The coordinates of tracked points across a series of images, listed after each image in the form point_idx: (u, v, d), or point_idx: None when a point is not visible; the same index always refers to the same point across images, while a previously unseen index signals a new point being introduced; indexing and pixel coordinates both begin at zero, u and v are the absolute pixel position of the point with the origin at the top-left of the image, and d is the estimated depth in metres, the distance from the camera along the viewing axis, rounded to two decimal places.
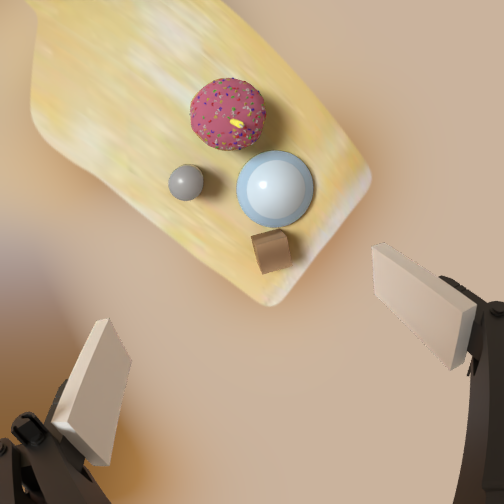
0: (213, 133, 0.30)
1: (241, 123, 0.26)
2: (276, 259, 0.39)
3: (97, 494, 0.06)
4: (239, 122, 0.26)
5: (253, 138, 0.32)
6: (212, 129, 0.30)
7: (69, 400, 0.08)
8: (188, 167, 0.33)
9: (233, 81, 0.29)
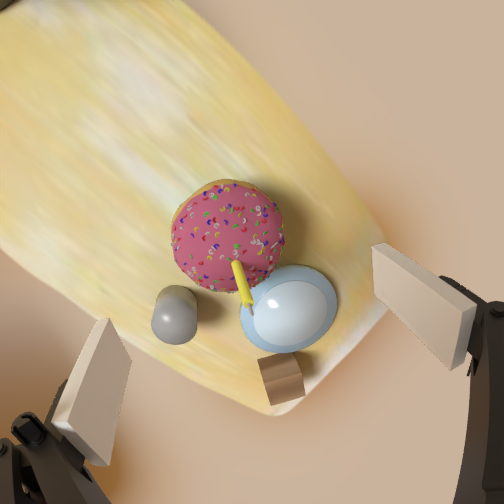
0: (207, 278, 0.22)
1: (251, 302, 0.17)
2: (287, 392, 0.30)
3: (97, 494, 0.06)
4: (247, 301, 0.17)
5: (265, 277, 0.23)
6: (205, 273, 0.21)
7: (69, 400, 0.08)
8: (175, 308, 0.25)
9: (235, 194, 0.20)
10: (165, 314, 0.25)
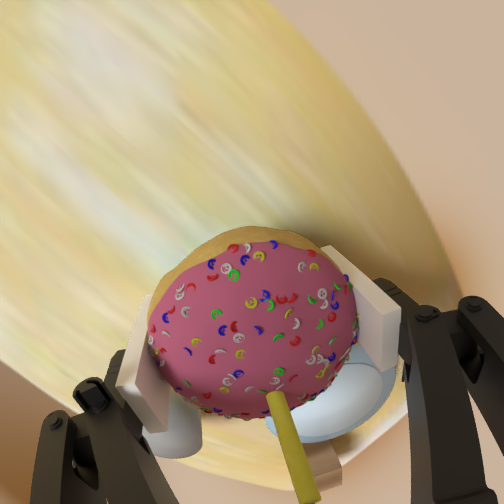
0: (220, 411, 0.11)
1: (316, 501, 0.06)
2: (320, 485, 0.19)
3: (153, 468, 0.07)
4: (310, 502, 0.06)
5: None
6: (215, 406, 0.10)
7: (132, 364, 0.10)
8: (168, 423, 0.14)
9: (278, 267, 0.10)
10: None
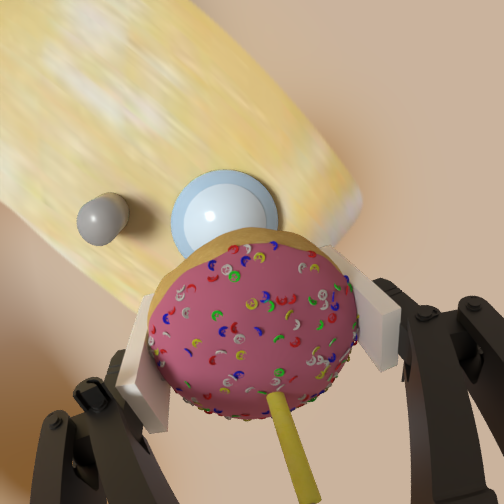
0: (220, 412, 0.11)
1: (316, 502, 0.06)
2: None
3: (154, 467, 0.07)
4: (310, 502, 0.06)
5: None
6: (216, 407, 0.10)
7: (132, 364, 0.10)
8: (98, 201, 0.23)
9: (278, 269, 0.10)
10: (89, 209, 0.23)
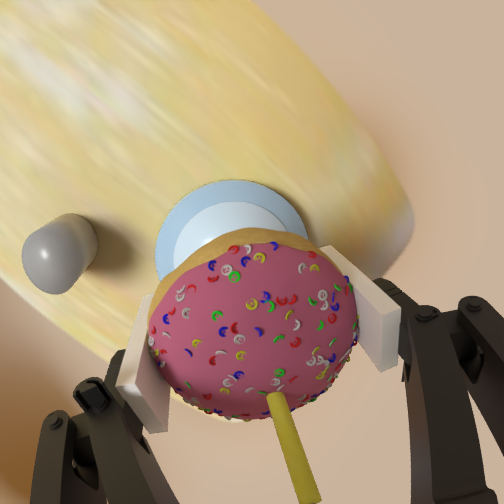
0: (220, 412, 0.11)
1: (316, 502, 0.06)
2: None
3: (154, 467, 0.07)
4: (310, 503, 0.06)
5: None
6: (216, 407, 0.10)
7: (132, 364, 0.10)
8: (47, 232, 0.14)
9: (278, 269, 0.10)
10: (36, 243, 0.14)
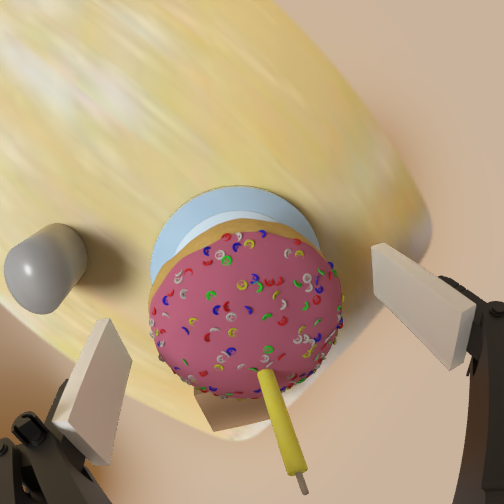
0: (215, 390, 0.12)
1: (302, 471, 0.07)
2: (237, 412, 0.18)
3: (98, 494, 0.06)
4: (297, 470, 0.07)
5: None
6: (211, 385, 0.12)
7: (70, 399, 0.08)
8: (29, 246, 0.12)
9: (266, 254, 0.11)
10: (18, 258, 0.12)
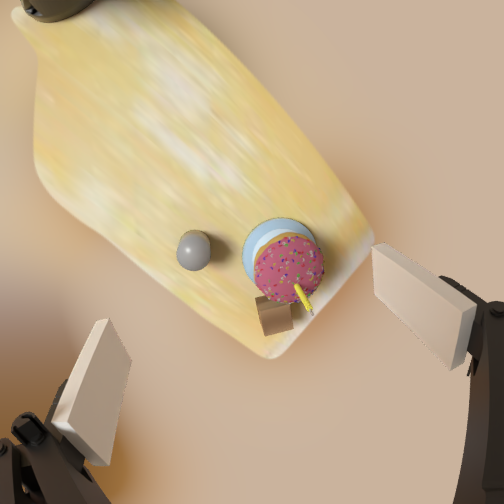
0: (277, 294, 0.34)
1: (311, 308, 0.30)
2: (278, 323, 0.40)
3: (97, 494, 0.06)
4: (309, 307, 0.30)
5: (311, 294, 0.36)
6: (276, 291, 0.34)
7: (69, 400, 0.08)
8: (196, 239, 0.35)
9: (298, 243, 0.33)
10: (188, 244, 0.35)
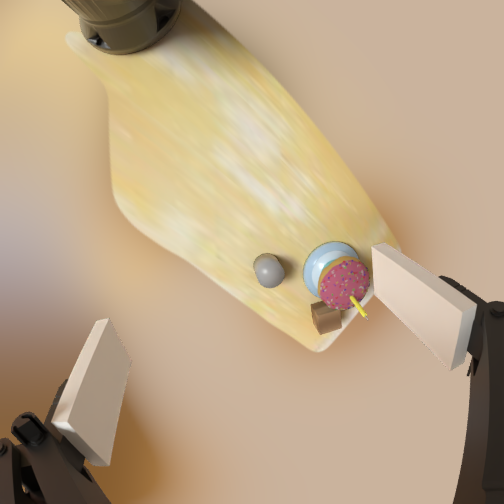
0: (337, 304, 0.44)
1: (366, 315, 0.39)
2: (330, 324, 0.49)
3: (97, 494, 0.06)
4: (365, 314, 0.39)
5: (359, 301, 0.46)
6: (337, 302, 0.44)
7: (69, 400, 0.08)
8: (274, 263, 0.44)
9: (353, 265, 0.43)
10: (267, 267, 0.44)
